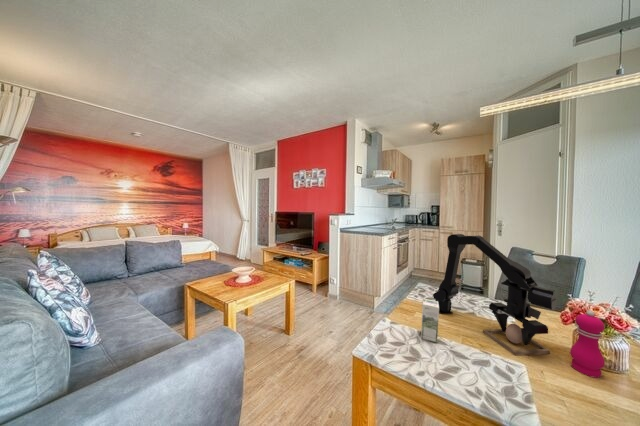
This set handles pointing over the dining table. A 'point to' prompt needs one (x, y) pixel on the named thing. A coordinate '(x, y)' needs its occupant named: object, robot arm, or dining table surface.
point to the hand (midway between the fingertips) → (514, 337)
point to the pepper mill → (588, 345)
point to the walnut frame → (515, 352)
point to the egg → (514, 333)
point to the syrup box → (430, 320)
